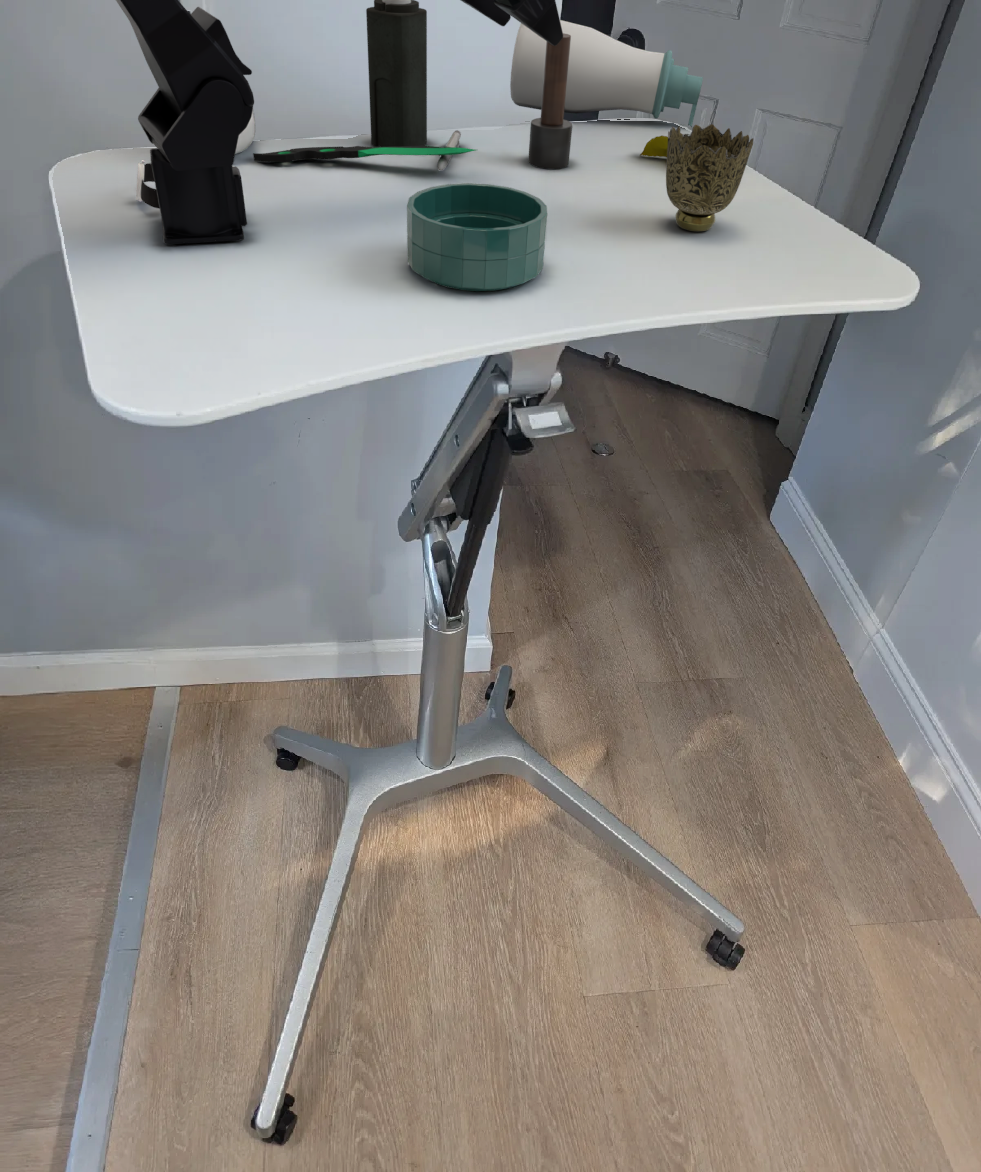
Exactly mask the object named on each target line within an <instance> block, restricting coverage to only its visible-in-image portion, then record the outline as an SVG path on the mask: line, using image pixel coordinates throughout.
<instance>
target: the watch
mask: <svg viewBox="0 0 981 1172" xmlns="http://www.w3.org/2000/svg"><path fill="white" fill-rule="evenodd" d="M136 175H137V177H136V193H135V201H138V202H140V203H142V202H143V203H145V204H146V205H148V206H149V207H151V208H155V209H159V210H160V207H159V202H158V197H157V191H156V188H153V187H150V186H149V185H147V184H146V183H148V182H149V183H150V182H153V183H155V181H154V175H153V170H152V165H151V162H149V163H146V161H145V160H143V159H141V162H138V163H137V174H136Z"/></svg>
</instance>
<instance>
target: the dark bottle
mask: <svg viewBox="0 0 981 1172" xmlns="http://www.w3.org/2000/svg"><path fill="white" fill-rule="evenodd" d="M365 13H366V37H367V39H366V41H367V43H366V44H367V61H368V62H367V67H368V68H367V69H368V90H369V91H368V93H369V94H368V95H369V116H370V119H369V120H370V144H371V145H372V146H373V147H387V146H421V145H428V67H427V66H428V35H427V34H428V16H427V14H428V12H427V9H425V8H421V7H420V1H418V0H373V6H371V7H367V8H366V10H365Z"/></svg>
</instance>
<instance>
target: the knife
mask: <svg viewBox="0 0 981 1172" xmlns="http://www.w3.org/2000/svg"><path fill="white" fill-rule="evenodd" d="M476 151H477V149H473V148H468V147H458V148H457V147H446V146H435V145H428V144H426V145H421V146H387V147H380V146H365V145H354V146H353V145H352V146H312V147H311V146H310V147H296V148H290V149H286V150H279V151H273V152H271V151H270V152H264V153H263V152H262V153H260V152H259V153H256V152H255V153H252V155H253V161H255V162H260V163H262V162H263V163H288V162H289V163H290V162H296V161H302V160H320V161H321V160H322V161H323V160H325V161H326V160H335V159H336V160H337V159H360V158H367V157H373V156H385V155H386V156H387V155H388V156H392V155H393V156H441V155H452V156H455V155H461V154H466V153H467V154H468V153H470V152H476Z"/></svg>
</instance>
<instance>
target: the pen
mask: <svg viewBox="0 0 981 1172" xmlns="http://www.w3.org/2000/svg"><path fill="white" fill-rule="evenodd" d="M461 133H462V132H461V131H460V130H458V129H457V130H454V131H453V133H452V135H451V136H450V138H449V140H448V142H447V144H446V145H445V147H457V148H460V139H461V135H462V134H461ZM452 157H453V155H439V158H438V160H437V165H436V167H437V170H438V171H440V172H442V171H444V170H445V169H446V168H447V167H448V165H449V163H450V161H451V159H452Z"/></svg>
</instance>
